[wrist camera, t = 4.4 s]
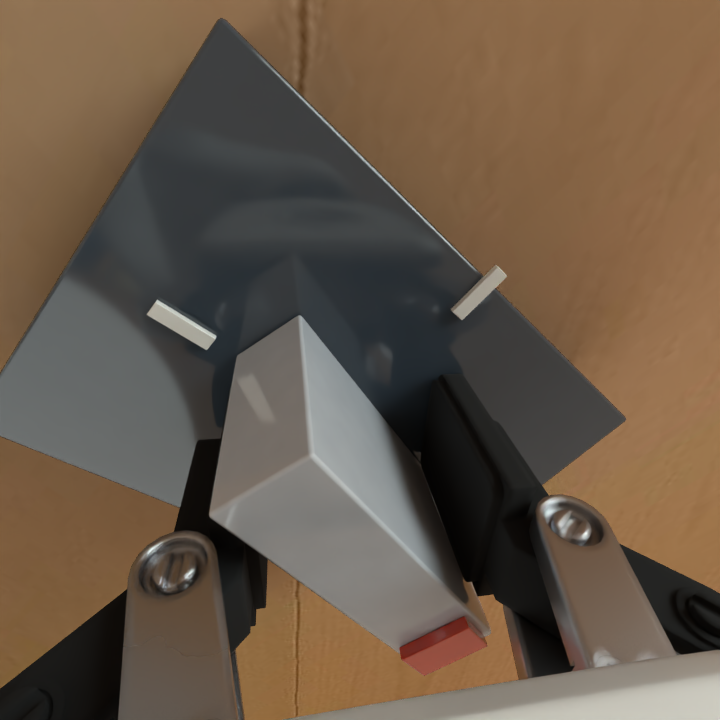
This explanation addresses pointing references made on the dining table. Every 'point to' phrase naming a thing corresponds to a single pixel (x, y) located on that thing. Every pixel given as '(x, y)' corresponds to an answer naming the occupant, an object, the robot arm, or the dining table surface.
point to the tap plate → (268, 294)
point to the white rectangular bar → (340, 501)
